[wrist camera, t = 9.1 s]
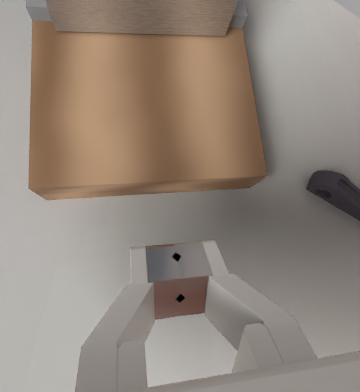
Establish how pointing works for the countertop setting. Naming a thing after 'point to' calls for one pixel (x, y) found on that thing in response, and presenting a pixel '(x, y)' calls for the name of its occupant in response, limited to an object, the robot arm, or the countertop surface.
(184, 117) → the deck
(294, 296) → the countertop surface
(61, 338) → the countertop surface
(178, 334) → the countertop surface
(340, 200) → the bracket
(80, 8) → the scraper
